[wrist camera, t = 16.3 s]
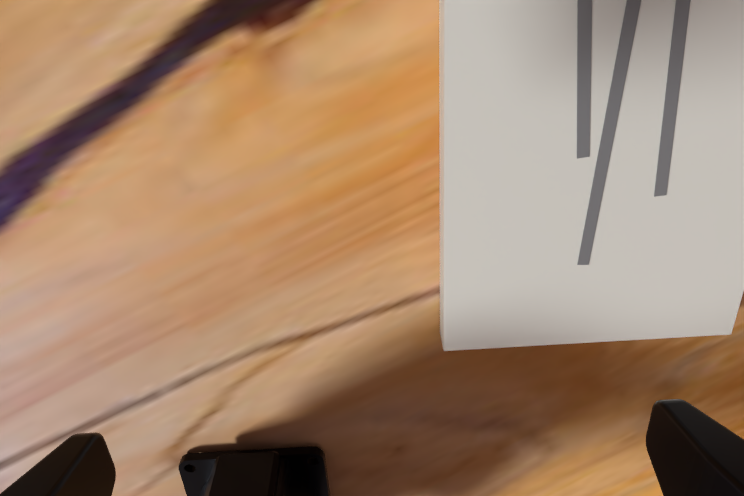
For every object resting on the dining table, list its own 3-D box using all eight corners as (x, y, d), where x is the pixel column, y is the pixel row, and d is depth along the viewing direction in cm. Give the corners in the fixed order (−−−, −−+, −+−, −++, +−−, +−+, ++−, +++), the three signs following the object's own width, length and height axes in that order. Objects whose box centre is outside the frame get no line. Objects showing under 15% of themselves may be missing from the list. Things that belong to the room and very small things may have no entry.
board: (713, 316, 23) (731, 335, 22) (440, 332, 23) (443, 351, 22) (917, -438, 13) (967, -471, 12) (438, -404, 13) (445, -434, 12)
